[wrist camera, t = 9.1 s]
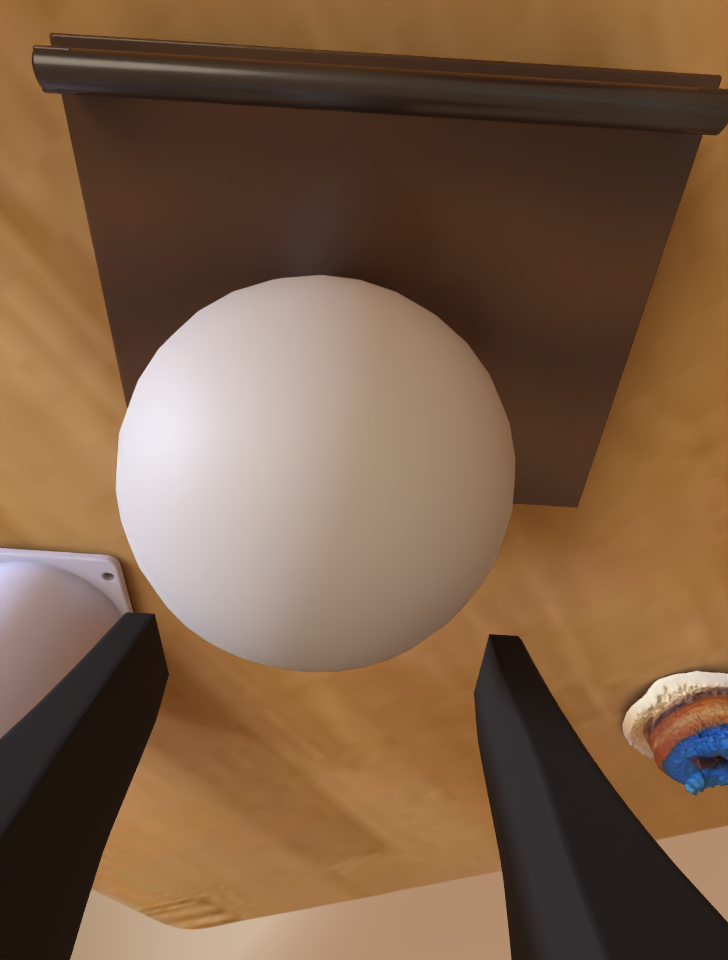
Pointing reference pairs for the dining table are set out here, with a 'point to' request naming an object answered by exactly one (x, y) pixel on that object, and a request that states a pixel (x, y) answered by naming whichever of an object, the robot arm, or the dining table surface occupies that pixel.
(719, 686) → the dessert
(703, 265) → the dining table surface
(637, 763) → the dining table surface
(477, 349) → the shelf
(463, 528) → the lightbulb
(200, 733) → the dining table surface
